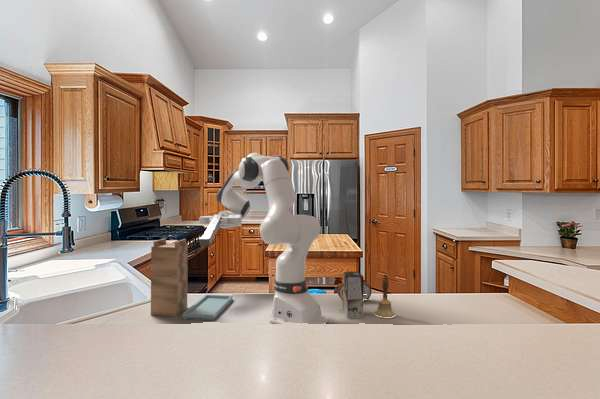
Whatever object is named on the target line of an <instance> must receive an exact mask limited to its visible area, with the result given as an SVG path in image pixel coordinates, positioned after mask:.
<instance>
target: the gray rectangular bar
mask: <svg viewBox="0 0 600 399" xmlns="http://www.w3.org/2000/svg"><path fill="white" fill-rule="evenodd" d="M213 216H214V217H213V218H212V220H211V222H210V224H208V226H207V228H206V230H205V231H204V233H203V235H202V236H201V237H199V238H198V240H199V242H198V243H199V246H200V247H211V246H212V242H213V240H214V238H215V236H216V235H217V232H218V230H219V228H220V227H219V226H220V223H219V222H220V221H219V220H223V219H222V215H217V214H214V215H213Z"/></svg>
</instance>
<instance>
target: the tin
mask: <svg viewBox="0 0 600 399" xmlns="http://www.w3.org/2000/svg"><path fill="white" fill-rule="evenodd" d="M343 287H344V281H343V282H340V284H339V285H338V287H337V295H338V296H339V298H340V299H341V300H342V301H343ZM363 294H367V295H363V299H368V300H369V299H370V298H371V295H372V288H371V287H370V285H369V284H368V283H367V282H365V281H364V288H363Z"/></svg>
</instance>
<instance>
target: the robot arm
mask: <svg viewBox="0 0 600 399" xmlns="http://www.w3.org/2000/svg"><path fill="white" fill-rule="evenodd" d="M289 166H290V165H289V162H288V161H287V159H286V158H285V157H282V156H279V155H278V156H277V155H276V156H269V155H267V156H266V155H262V154H260V153H258V152H251V153H249V154H247V156H246V157H243V158H241V159H240V161H239V163H238V169H235V170H234V171H232V172H231V173H230V175H229V176H228V177H227V179H226V180H225V182H224V184H223V186H221V188H220V189H219V190H218V191H217V193H216V201H217V202H218V203H219V204H220V205H222V206H224V207H226V208H227V209H228V210H221V211H220V212H218V213H217V214H216V215H222V219H223V220H219V221H220V222H219V223H220V226H219V228H220V229H230V228H237V227H239V228H240V227H242V224H243V219H244V218H245V217H246V216H247V215H248V213H249V211H250V210H251V209H250V208H251V202H250V200H249V199H247V198H246V197H245V196H243V195H242V194H240V193H239V192H237V191H236V190H234V188H233V187H234V186H235V185H236V186H238V187H240V188H243V189H248V190H249V189H254V188H256V187H258V186H259V184H260V183H261V182H263V186H264V190H265V193H266V198H267V203H268V210H267V214H266V216H265V217H264V218H263V220H262V221H261V223H260V226H259V235H260V238H261V239H262V241H263V243H265V244H268V245H274V246H280V245H282V246H283V245H286V247H285V249H284V250H283V251H282V253H281V254H279V255H278V256H277V258H276V261H275V279H274V283H273V286H274V290H275V291H274V295H273V301H272V309H271V314H270V318H269V323H271V324H275V325H278V324H288V323H293V324H294V323H301V324H302V323H308V324H324V323H327V324H328V322H329V321H328V320H329V319H328V318H327V317H325V316H323V315H322V308H321V305H320V303H319V302H318V301H317V300H316V299H315V297H313V296H312V294H311V293H310V292H309V289H308V288H309V287H311V286H310V285H311V284H310V283H307V282H306V279H305V275H306V274H305V272H306V261H307V255H308V253H309V250H310V248H311V246H312V244H313V243H314V241H315V240H317V238H318V237H319V236H320V233H321V224H320V221H319V220H318V218H316V217H315V216H313V215H308V214H291V212H290V208H291V207H292V205H294V203H295V202H296V199H297V194H296V191H295V188H294V186H293V182H292V179H291V175H290V173H289V170H290V169H289ZM213 217H214V215H205V216H200V217H199V219H198V220H199V221H198V222H199V225H209V224H210V222H211V220H212V218H213Z"/></svg>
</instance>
